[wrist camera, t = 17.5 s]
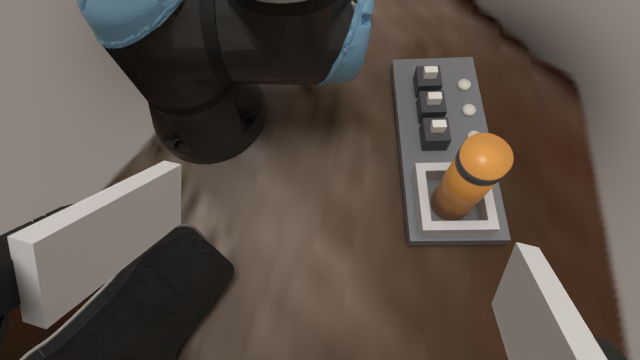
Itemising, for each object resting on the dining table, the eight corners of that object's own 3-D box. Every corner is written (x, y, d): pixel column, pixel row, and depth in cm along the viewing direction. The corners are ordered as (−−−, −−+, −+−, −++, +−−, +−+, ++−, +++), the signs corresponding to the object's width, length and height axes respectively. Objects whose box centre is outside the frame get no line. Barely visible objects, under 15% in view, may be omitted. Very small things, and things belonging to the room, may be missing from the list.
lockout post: (423, 193, 45) (451, 141, 34) (457, 180, 45) (496, 125, 34) (441, 227, 43) (477, 185, 32) (477, 213, 43) (524, 167, 32)
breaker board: (503, 244, 44) (525, 230, 38) (407, 245, 44) (416, 231, 39) (468, 66, 54) (481, 36, 49) (390, 69, 55) (396, 40, 50)
